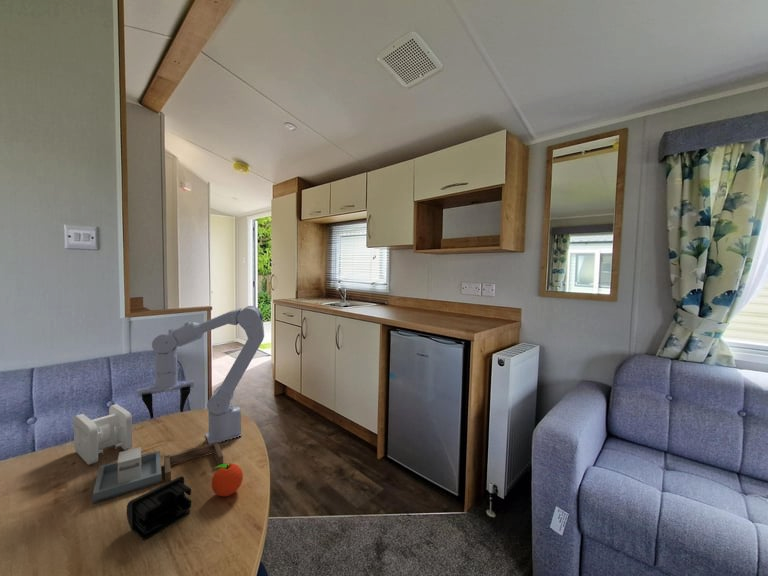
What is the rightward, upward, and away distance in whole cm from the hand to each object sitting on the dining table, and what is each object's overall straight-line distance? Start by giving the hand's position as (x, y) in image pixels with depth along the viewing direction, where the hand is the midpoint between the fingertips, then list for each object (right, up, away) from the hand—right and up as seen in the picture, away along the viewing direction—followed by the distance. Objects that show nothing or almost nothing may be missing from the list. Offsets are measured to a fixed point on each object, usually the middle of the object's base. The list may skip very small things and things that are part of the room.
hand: (167, 414), depth 99 cm
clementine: (+29, -11, -22) cm, 38 cm away
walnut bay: (+15, -10, -11) cm, 21 cm away
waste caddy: (+2, -10, -17) cm, 20 cm away
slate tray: (+2, -10, -17) cm, 20 cm away
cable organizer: (-15, -10, -5) cm, 19 cm away
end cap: (+20, -11, -30) cm, 38 cm away
